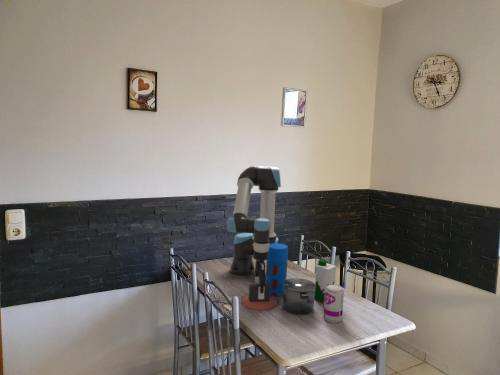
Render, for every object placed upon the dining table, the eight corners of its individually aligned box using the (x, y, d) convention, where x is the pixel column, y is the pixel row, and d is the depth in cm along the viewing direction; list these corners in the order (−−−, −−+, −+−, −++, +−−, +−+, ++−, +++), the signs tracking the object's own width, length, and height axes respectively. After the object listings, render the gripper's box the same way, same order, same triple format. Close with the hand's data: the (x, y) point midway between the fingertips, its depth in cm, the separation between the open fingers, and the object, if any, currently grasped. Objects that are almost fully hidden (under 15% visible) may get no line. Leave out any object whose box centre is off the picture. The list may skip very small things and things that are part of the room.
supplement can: (332, 325, 162) (334, 292, 160) (319, 317, 169) (321, 285, 167) (345, 320, 166) (347, 289, 164) (332, 313, 173) (334, 282, 171)
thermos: (284, 297, 190) (286, 249, 187) (263, 294, 192) (265, 247, 189) (286, 289, 200) (289, 244, 197) (267, 286, 203) (269, 242, 200)
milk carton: (320, 294, 195) (322, 257, 192) (335, 299, 189) (338, 262, 186) (311, 299, 188) (313, 261, 186) (326, 304, 182) (329, 265, 180)
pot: (277, 299, 187) (278, 276, 185) (307, 298, 189) (308, 276, 188) (287, 318, 166) (288, 293, 165) (320, 317, 168) (322, 292, 167)
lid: (239, 296, 189) (240, 278, 188) (272, 295, 192) (273, 278, 190) (243, 311, 172) (244, 292, 171) (279, 310, 175) (280, 291, 174)
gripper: (250, 244, 190) (248, 285, 192) (257, 258, 167) (255, 304, 170) (264, 244, 191) (262, 284, 193) (273, 258, 168) (271, 304, 171)
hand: (259, 294), depth 181 cm, fingers open, 11 cm apart
